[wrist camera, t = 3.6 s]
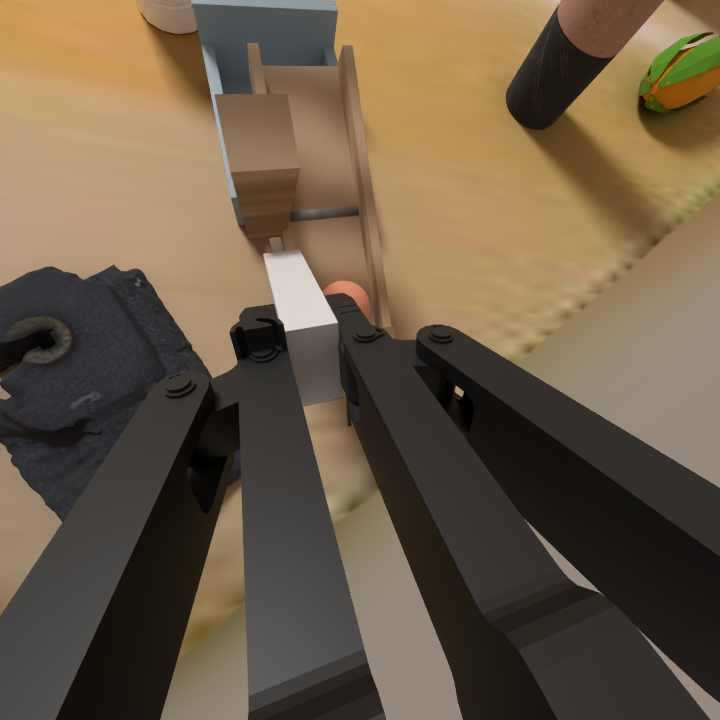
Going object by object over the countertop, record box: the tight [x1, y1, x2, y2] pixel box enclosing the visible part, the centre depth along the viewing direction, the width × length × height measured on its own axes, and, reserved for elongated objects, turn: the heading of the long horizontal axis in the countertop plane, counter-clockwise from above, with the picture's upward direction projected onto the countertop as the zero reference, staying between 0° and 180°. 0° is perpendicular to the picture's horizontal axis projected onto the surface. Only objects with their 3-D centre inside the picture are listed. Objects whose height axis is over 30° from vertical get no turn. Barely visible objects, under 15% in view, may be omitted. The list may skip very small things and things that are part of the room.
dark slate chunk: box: [0, 265, 241, 522], centre depth 25 cm, size 15×22×5 cm
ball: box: [322, 281, 370, 319], centre depth 22 cm, size 4×4×4 cm
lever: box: [214, 43, 396, 338], centre depth 18 cm, size 18×9×12 cm, turn 13°
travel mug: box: [506, 0, 664, 129], centre depth 32 cm, size 8×8×20 cm
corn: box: [639, 32, 720, 113], centre depth 44 cm, size 7×8×20 cm
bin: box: [191, 0, 338, 225], centre depth 31 cm, size 16×12×7 cm
